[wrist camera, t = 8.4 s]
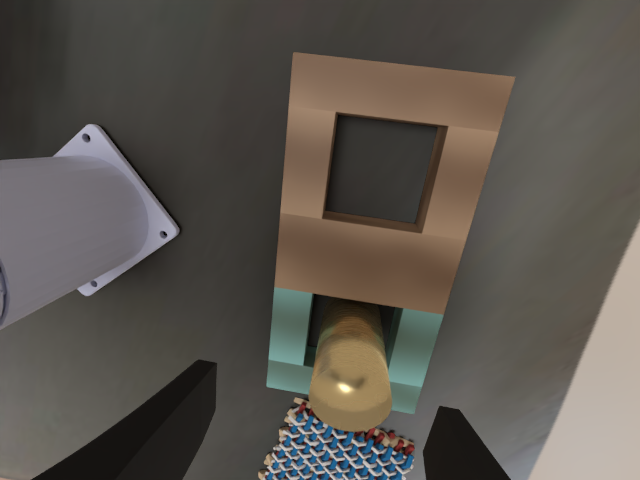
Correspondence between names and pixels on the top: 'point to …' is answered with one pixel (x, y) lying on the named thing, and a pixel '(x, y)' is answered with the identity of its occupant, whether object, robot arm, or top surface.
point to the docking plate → (373, 233)
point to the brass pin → (350, 367)
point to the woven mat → (335, 452)
